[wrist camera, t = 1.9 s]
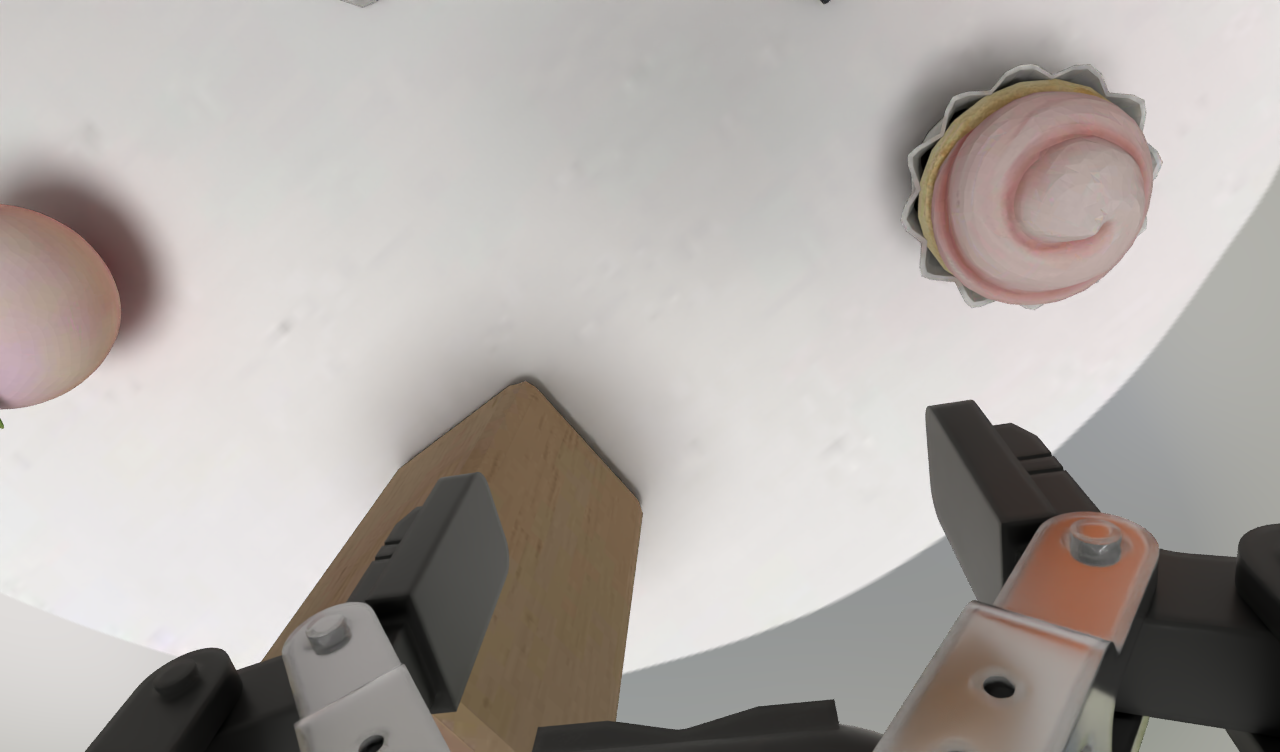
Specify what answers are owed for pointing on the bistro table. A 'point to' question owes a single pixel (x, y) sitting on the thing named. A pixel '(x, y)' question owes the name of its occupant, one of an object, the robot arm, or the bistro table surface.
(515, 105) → the bistro table surface
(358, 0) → the flask
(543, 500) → the wooden block
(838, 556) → the bistro table surface
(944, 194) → the cupcake
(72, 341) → the decorative fruit
